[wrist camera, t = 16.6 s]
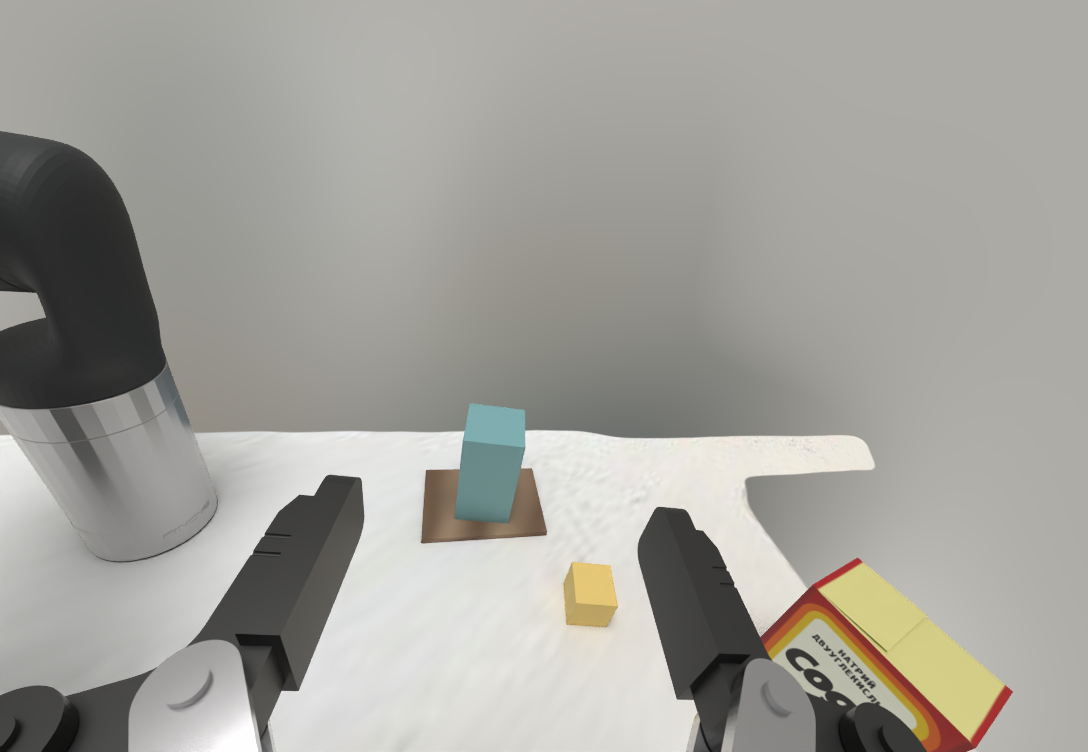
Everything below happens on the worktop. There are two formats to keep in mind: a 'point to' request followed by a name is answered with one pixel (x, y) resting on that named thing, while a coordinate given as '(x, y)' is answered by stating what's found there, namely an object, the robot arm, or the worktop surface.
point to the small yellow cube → (589, 595)
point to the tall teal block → (490, 463)
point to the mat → (445, 528)
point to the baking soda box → (885, 659)
